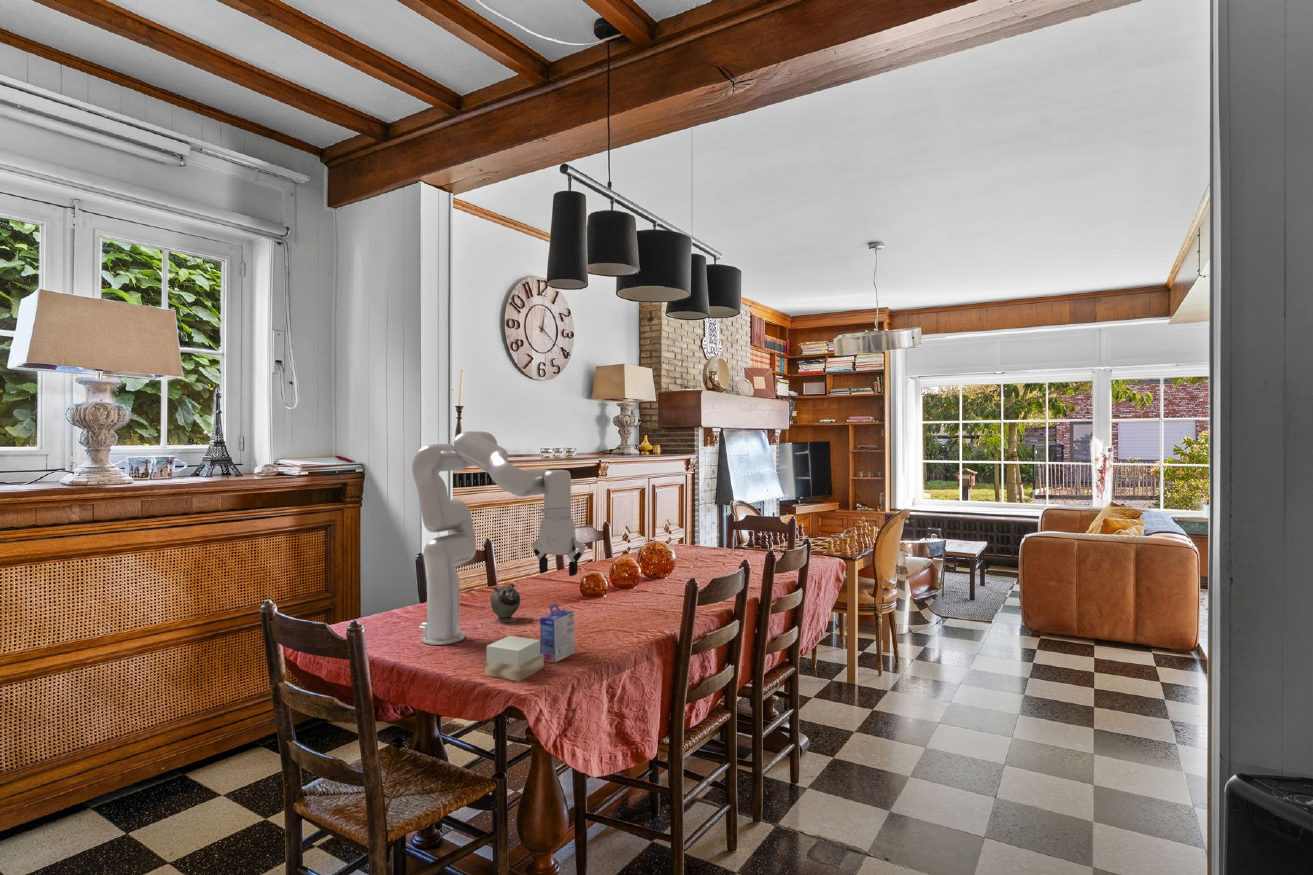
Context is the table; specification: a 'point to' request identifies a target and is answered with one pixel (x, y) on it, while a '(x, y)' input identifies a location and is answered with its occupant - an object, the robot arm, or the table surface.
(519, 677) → the tower bottom block
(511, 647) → the tower top block
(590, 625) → the table surface
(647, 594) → the table surface
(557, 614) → the ink cartridge box
